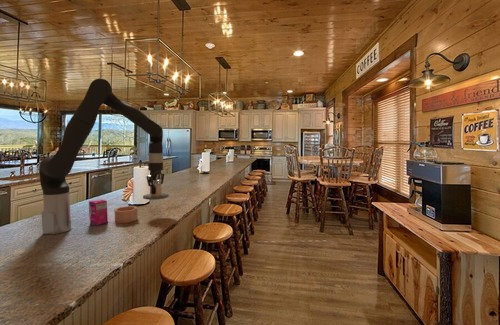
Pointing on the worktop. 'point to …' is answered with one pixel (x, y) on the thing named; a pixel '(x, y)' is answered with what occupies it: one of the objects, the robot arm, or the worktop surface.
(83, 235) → the worktop surface
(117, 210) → the bowl
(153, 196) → the lid
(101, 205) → the supplement box
